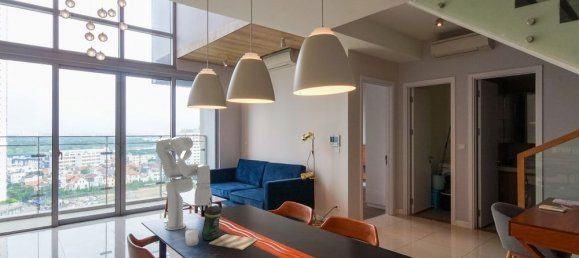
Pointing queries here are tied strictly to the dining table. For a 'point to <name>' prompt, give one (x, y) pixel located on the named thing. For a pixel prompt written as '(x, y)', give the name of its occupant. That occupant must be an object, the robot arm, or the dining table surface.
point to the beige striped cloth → (233, 241)
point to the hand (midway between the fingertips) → (203, 216)
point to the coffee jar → (211, 222)
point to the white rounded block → (191, 237)
